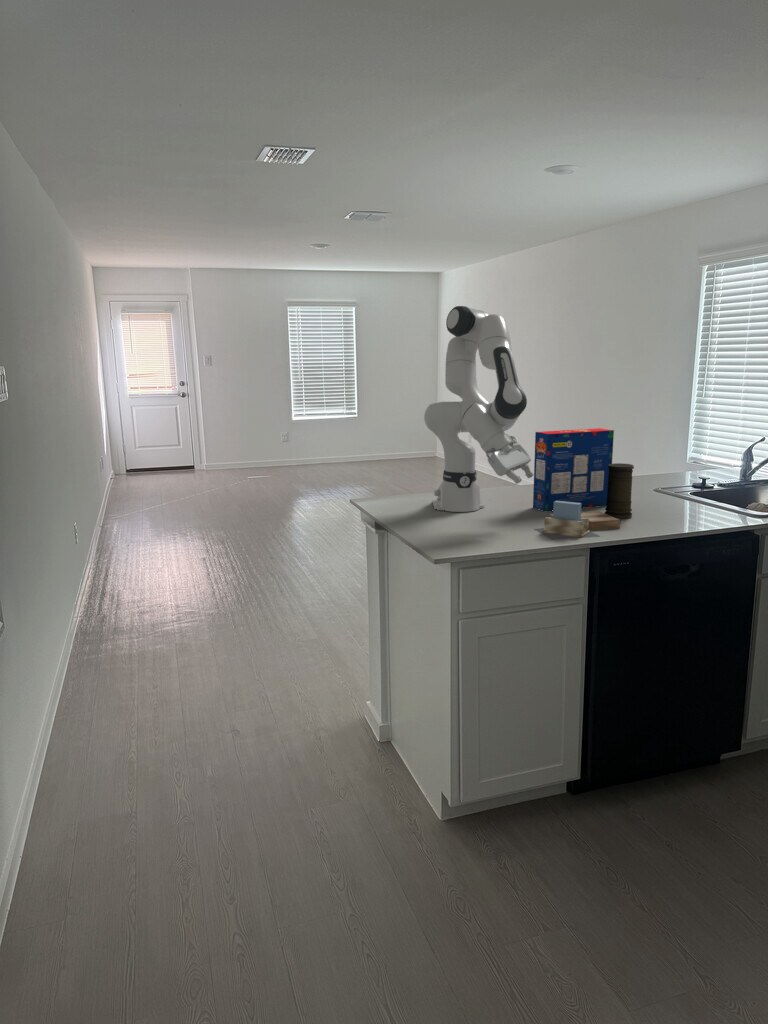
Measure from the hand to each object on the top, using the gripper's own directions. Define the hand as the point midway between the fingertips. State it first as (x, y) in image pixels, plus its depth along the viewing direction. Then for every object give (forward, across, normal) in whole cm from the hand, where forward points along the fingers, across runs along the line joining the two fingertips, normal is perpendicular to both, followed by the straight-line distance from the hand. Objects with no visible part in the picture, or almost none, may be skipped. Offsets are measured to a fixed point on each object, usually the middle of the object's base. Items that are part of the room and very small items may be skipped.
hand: (525, 479), depth 226 cm
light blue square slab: (+21, -1, 0) cm, 21 cm away
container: (+27, +32, -3) cm, 42 cm away
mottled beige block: (+21, -1, +1) cm, 21 cm away
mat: (+21, -1, +1) cm, 21 cm away
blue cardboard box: (+14, +39, +11) cm, 43 cm away
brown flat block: (+24, +15, -2) cm, 29 cm away
